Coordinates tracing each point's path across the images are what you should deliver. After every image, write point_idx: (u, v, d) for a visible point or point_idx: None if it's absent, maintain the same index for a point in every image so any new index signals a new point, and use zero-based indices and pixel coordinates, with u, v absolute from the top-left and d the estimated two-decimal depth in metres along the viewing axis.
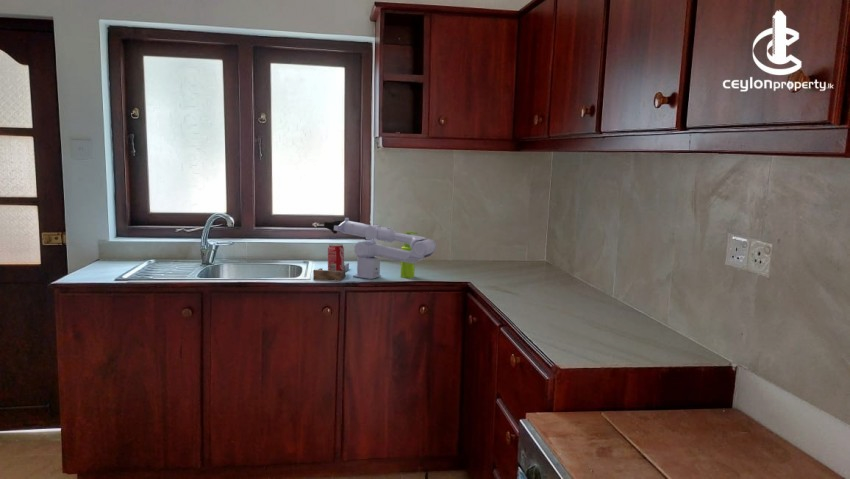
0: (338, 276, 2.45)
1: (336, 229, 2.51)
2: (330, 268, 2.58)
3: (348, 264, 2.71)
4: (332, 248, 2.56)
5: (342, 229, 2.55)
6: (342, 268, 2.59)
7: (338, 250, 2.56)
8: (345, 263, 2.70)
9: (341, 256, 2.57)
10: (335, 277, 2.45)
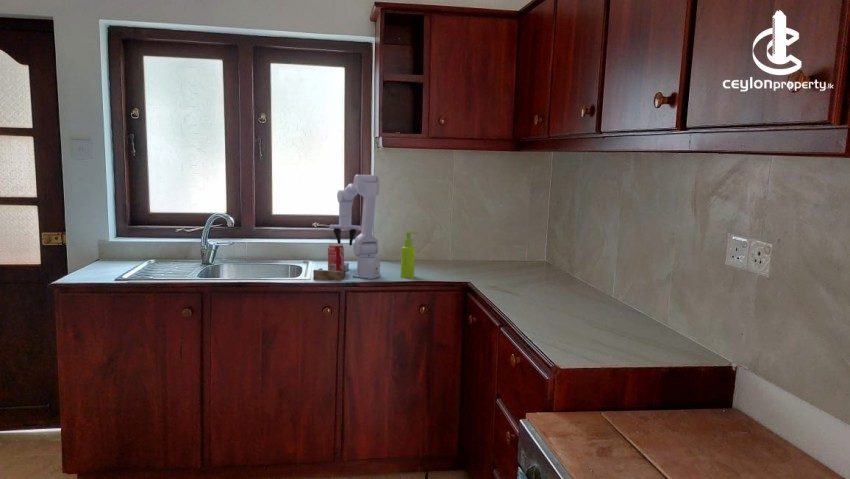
0: (338, 276, 2.45)
1: None
2: (330, 268, 2.58)
3: (348, 264, 2.71)
4: (332, 248, 2.56)
5: (338, 225, 2.74)
6: (342, 268, 2.59)
7: (338, 250, 2.56)
8: (345, 263, 2.70)
9: (341, 256, 2.57)
10: (335, 277, 2.45)
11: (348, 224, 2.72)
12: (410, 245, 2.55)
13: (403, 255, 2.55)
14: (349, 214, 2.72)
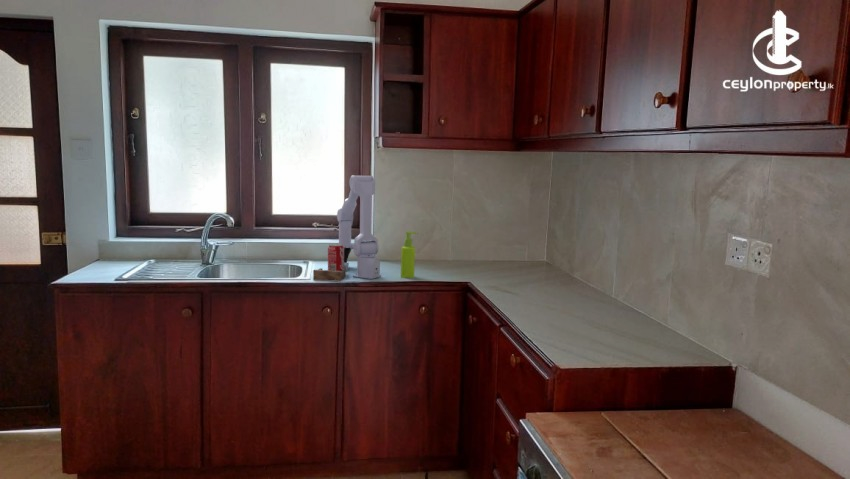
0: (338, 276, 2.45)
1: None
2: (330, 268, 2.58)
3: (348, 264, 2.71)
4: (332, 248, 2.56)
5: None
6: (342, 268, 2.59)
7: (338, 250, 2.56)
8: (345, 263, 2.70)
9: (341, 256, 2.57)
10: (335, 277, 2.45)
11: (348, 243, 2.73)
12: (410, 245, 2.55)
13: (403, 255, 2.55)
14: (349, 233, 2.73)
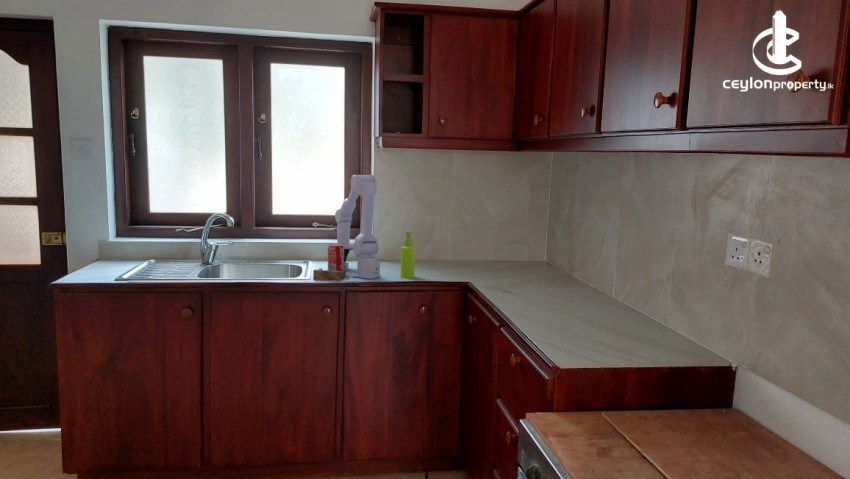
0: (338, 276, 2.45)
1: None
2: (330, 268, 2.58)
3: (348, 264, 2.71)
4: (332, 248, 2.56)
5: None
6: (342, 268, 2.59)
7: (338, 250, 2.56)
8: (345, 263, 2.70)
9: (341, 256, 2.57)
10: (335, 277, 2.45)
11: (346, 244, 2.71)
12: (410, 245, 2.55)
13: (403, 255, 2.55)
14: (348, 234, 2.70)
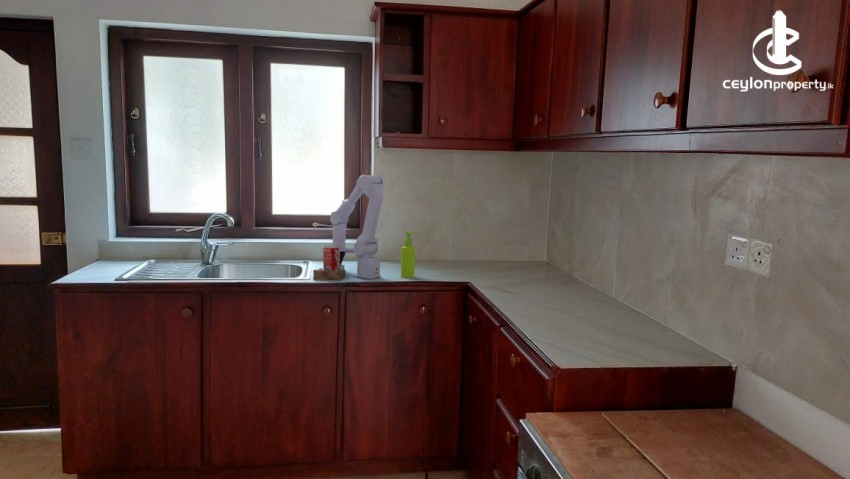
0: (338, 276, 2.45)
1: None
2: None
3: None
4: (327, 250, 2.50)
5: None
6: None
7: (333, 252, 2.50)
8: (340, 265, 2.62)
9: (336, 258, 2.51)
10: (335, 277, 2.45)
11: (342, 247, 2.63)
12: (410, 245, 2.55)
13: (403, 255, 2.55)
14: (344, 236, 2.63)
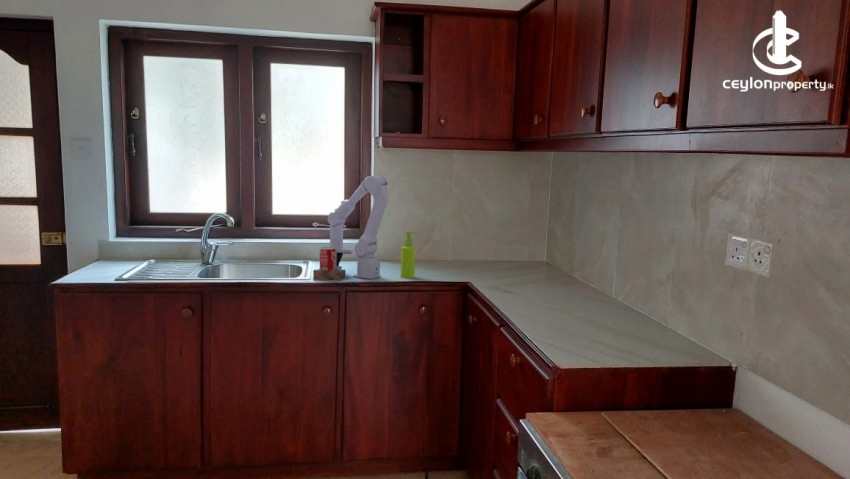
0: (338, 276, 2.45)
1: None
2: None
3: (341, 268, 2.59)
4: (323, 251, 2.46)
5: None
6: None
7: (329, 253, 2.46)
8: (337, 267, 2.58)
9: (332, 260, 2.47)
10: (335, 277, 2.45)
11: (339, 248, 2.58)
12: (410, 245, 2.55)
13: (403, 255, 2.55)
14: (342, 237, 2.60)
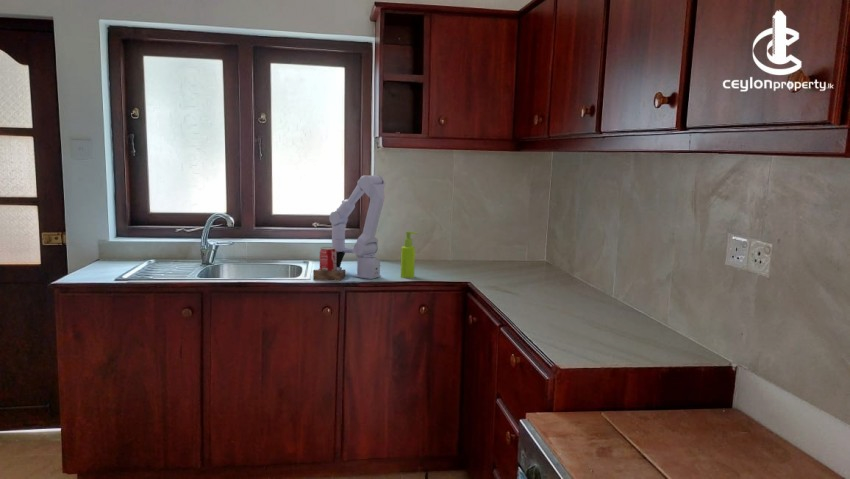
0: (338, 276, 2.45)
1: None
2: None
3: (341, 269, 2.59)
4: (323, 251, 2.46)
5: None
6: None
7: (330, 253, 2.46)
8: (338, 268, 2.58)
9: (332, 260, 2.47)
10: (335, 277, 2.45)
11: (341, 247, 2.62)
12: (410, 245, 2.55)
13: (403, 255, 2.55)
14: (344, 236, 2.63)
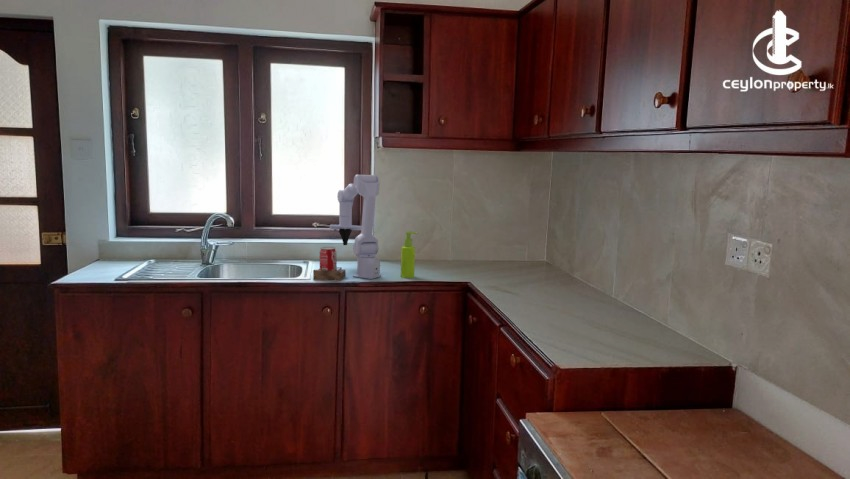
0: (338, 276, 2.45)
1: None
2: None
3: (341, 269, 2.59)
4: (323, 251, 2.46)
5: (338, 225, 2.74)
6: None
7: (329, 253, 2.46)
8: (338, 268, 2.58)
9: (332, 260, 2.47)
10: (335, 277, 2.45)
11: (348, 224, 2.72)
12: (410, 245, 2.55)
13: (403, 255, 2.55)
14: (349, 214, 2.72)
